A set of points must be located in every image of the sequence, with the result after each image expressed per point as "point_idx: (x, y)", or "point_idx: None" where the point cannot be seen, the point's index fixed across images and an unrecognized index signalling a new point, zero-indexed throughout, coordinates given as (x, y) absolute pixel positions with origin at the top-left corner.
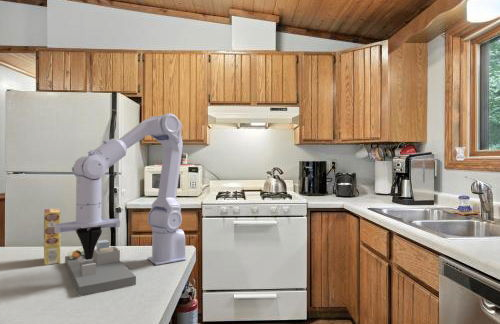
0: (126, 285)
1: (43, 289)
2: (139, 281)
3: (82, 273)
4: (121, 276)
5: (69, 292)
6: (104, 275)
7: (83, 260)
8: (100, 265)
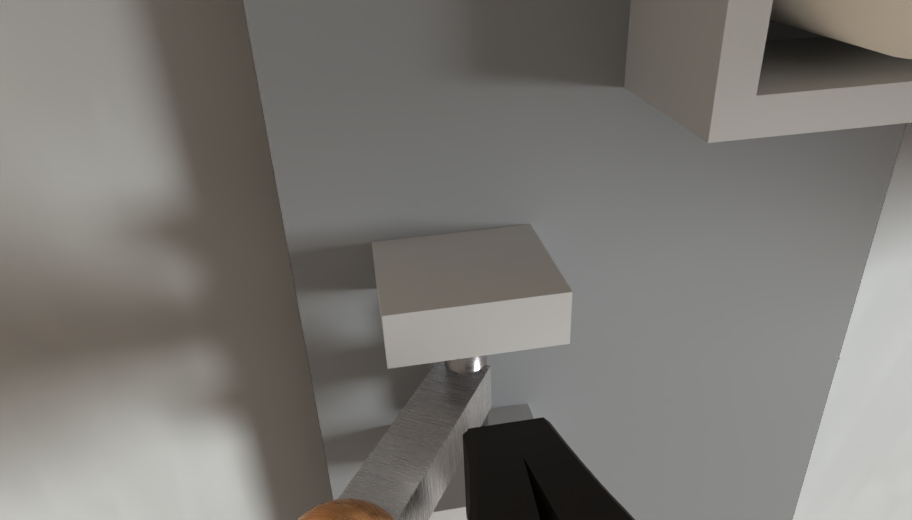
0: None
1: (28, 375)
2: None
3: None
4: None
5: (286, 515)
6: None
7: (434, 497)
8: (651, 138)
